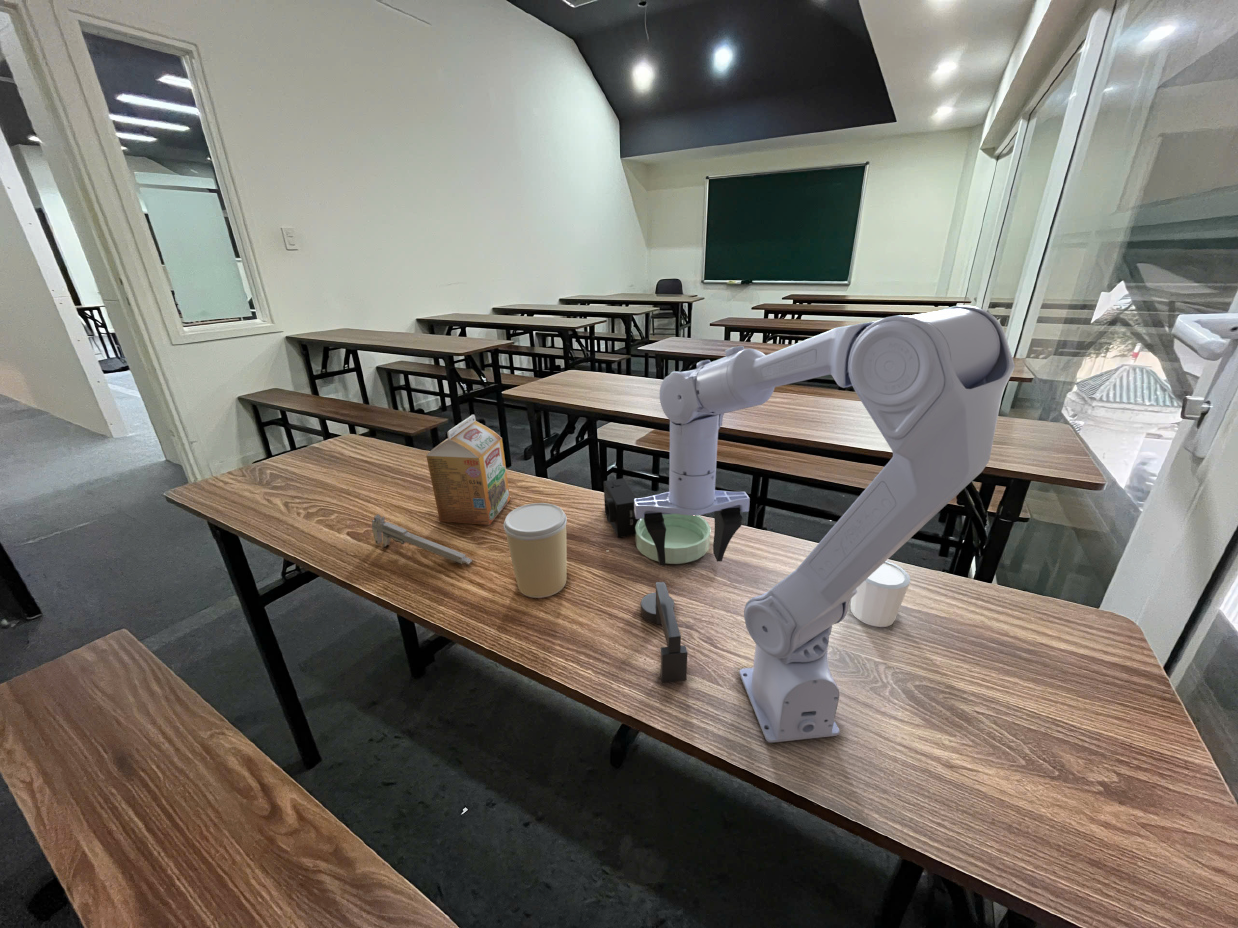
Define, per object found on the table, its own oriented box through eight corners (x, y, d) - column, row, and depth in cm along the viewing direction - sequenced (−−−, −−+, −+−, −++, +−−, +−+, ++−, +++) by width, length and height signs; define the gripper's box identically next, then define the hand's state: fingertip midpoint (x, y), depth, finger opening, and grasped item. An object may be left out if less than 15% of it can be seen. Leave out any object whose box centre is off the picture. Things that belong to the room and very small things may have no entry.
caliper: (376, 545, 87) (367, 515, 85) (380, 542, 88) (372, 512, 86) (468, 565, 81) (462, 533, 78) (472, 562, 82) (466, 530, 79)
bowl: (718, 562, 80) (719, 545, 78) (640, 568, 79) (640, 551, 77) (699, 523, 91) (700, 507, 90) (631, 528, 90) (631, 511, 89)
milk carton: (489, 524, 93) (474, 432, 86) (439, 521, 95) (421, 430, 87) (510, 499, 103) (498, 414, 95) (464, 496, 104) (449, 413, 97)
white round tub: (907, 633, 64) (918, 590, 61) (851, 627, 65) (860, 585, 62) (891, 599, 70) (901, 559, 67) (840, 594, 71) (848, 555, 68)
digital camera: (598, 512, 96) (597, 481, 94) (624, 508, 98) (624, 477, 95) (611, 539, 87) (610, 505, 84) (640, 534, 88) (639, 500, 86)
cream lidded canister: (580, 569, 79) (575, 505, 74) (558, 606, 71) (551, 536, 66) (528, 561, 81) (520, 499, 77) (501, 596, 73) (491, 528, 68)
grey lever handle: (693, 679, 58) (695, 635, 55) (654, 683, 58) (654, 639, 55) (670, 599, 71) (671, 561, 69) (638, 602, 71) (638, 564, 68)
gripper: (740, 451, 63) (733, 539, 68) (630, 457, 62) (632, 546, 68) (758, 473, 57) (749, 568, 62) (636, 480, 56) (638, 576, 61)
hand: (689, 559), depth 64 cm, fingers open, 7 cm apart
